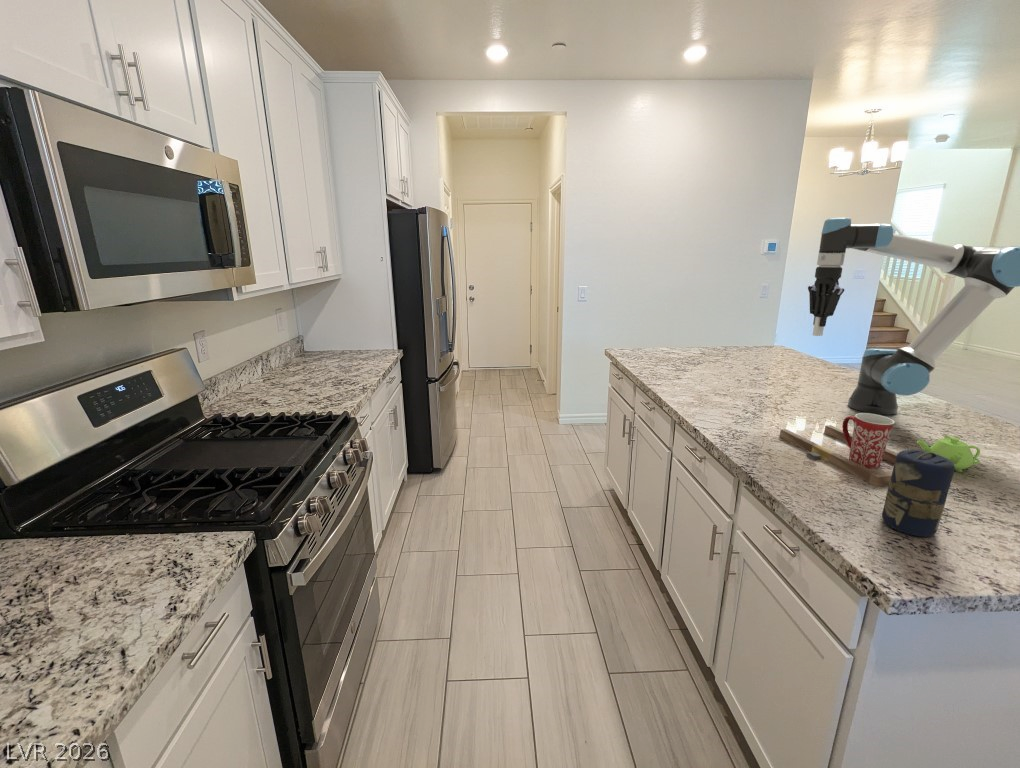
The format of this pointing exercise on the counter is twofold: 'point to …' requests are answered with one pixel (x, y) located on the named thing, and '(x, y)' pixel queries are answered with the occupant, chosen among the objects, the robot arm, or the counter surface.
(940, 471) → the canister
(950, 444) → the teapot
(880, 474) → the beam slot
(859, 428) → the mug
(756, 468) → the counter surface
